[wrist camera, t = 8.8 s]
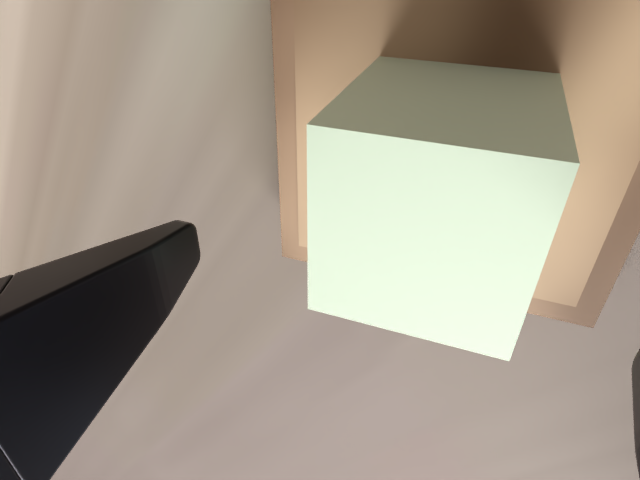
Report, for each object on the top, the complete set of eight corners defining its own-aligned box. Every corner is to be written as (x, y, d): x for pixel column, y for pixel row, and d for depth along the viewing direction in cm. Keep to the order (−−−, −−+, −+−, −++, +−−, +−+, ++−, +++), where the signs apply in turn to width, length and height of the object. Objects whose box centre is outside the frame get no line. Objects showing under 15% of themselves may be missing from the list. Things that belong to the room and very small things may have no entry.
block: (560, 73, 13) (580, 163, 8) (514, 228, 15) (509, 361, 11) (379, 56, 14) (306, 123, 9) (368, 201, 17) (308, 308, 12)
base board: (754, -85, 11) (793, -86, 10) (587, 292, 18) (593, 329, 16) (294, -88, 15) (265, -90, 13) (299, 231, 21) (281, 257, 20)
